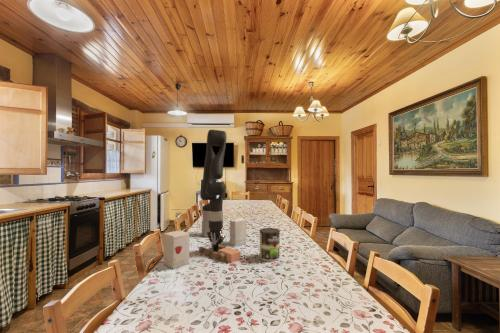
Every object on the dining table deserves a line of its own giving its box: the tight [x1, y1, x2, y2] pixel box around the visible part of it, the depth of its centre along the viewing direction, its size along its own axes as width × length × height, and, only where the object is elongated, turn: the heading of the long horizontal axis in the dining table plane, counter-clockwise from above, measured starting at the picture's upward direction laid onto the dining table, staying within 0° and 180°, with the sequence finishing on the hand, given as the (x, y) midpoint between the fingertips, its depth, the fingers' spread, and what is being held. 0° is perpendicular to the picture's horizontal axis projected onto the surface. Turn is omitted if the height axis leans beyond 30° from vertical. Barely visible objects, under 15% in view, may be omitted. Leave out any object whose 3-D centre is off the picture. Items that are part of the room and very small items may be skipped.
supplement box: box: [162, 230, 190, 270], centre depth 123 cm, size 9×9×15 cm
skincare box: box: [229, 217, 247, 247], centre depth 155 cm, size 8×6×15 cm
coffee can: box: [259, 227, 281, 262], centre depth 133 cm, size 10×10×14 cm
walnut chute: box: [198, 243, 239, 262], centre depth 137 cm, size 20×11×4 cm, turn 46°
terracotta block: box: [217, 246, 242, 263], centre depth 130 cm, size 10×6×4 cm, turn 46°
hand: (215, 251), depth 139 cm, fingers closed
